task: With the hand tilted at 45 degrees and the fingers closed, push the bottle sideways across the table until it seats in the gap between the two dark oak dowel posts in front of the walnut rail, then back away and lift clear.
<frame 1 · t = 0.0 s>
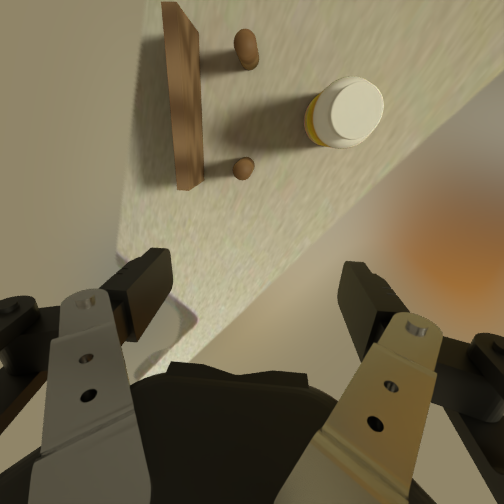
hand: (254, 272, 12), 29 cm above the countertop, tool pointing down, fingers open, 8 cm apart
dowel gate: (247, 116, 35), on the countertop
walnut rail: (196, 114, 35), on the countertop
supplement bottle: (327, 119, 35), on the countertop
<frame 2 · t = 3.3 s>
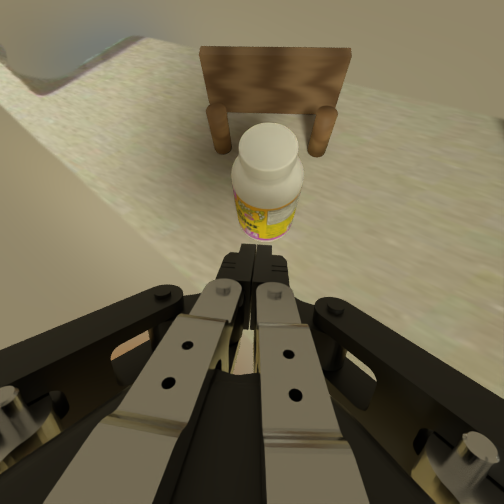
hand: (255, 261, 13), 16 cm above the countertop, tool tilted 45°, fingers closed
dowel gate: (269, 148, 35), on the countertop
walnut rail: (271, 109, 37), on the countertop
supplement bottle: (265, 220, 32), on the countertop
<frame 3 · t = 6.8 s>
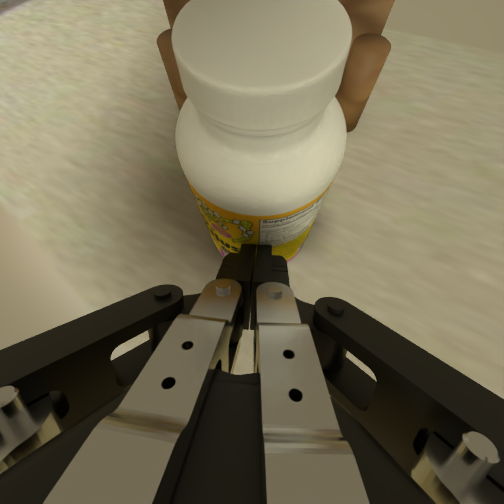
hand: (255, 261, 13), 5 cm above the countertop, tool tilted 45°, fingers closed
dowel gate: (267, 118, 22), on the countertop
walnut rail: (272, 62, 25), on the countertop
supplement bottle: (258, 233, 19), on the countertop, touching gripper
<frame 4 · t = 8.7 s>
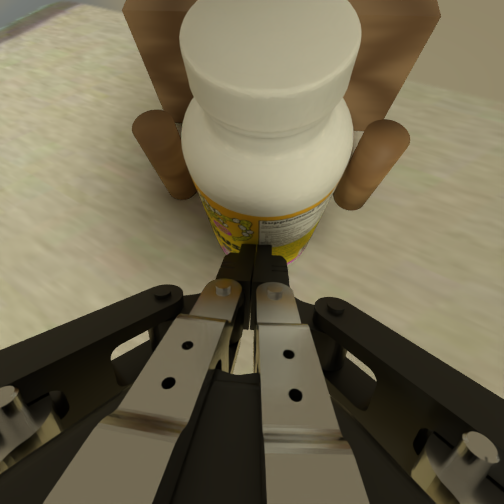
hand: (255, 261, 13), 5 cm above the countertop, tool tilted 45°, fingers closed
dowel gate: (264, 191, 20), on the countertop
walnut rail: (270, 120, 22), on the countertop
supplement bottle: (262, 232, 19), on the countertop, touching gripper
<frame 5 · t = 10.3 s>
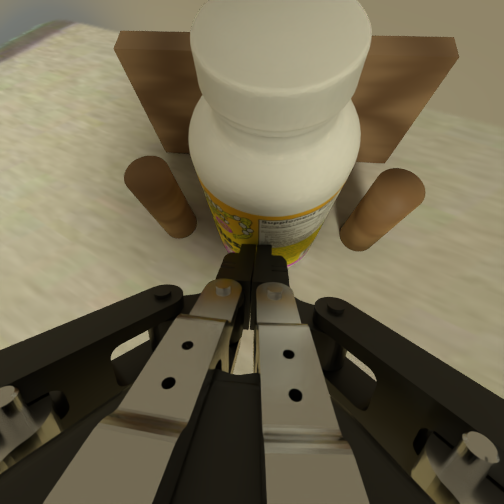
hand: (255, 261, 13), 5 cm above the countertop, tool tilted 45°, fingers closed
dowel gate: (266, 229, 19), on the countertop
walnut rail: (273, 150, 21), on the countertop
supplement bottle: (266, 232, 19), on the countertop, touching gripper
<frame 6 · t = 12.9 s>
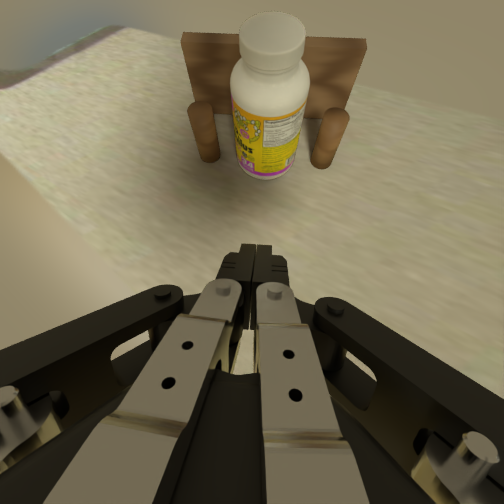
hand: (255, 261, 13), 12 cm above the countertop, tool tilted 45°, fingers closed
dowel gate: (265, 157, 29), on the countertop
walnut rail: (268, 111, 32), on the countertop
supplement bottle: (265, 160, 30), on the countertop
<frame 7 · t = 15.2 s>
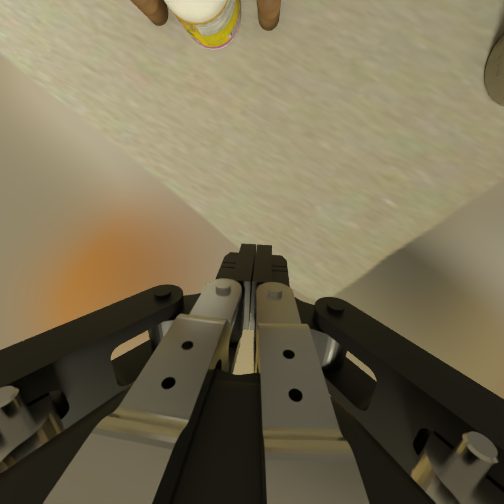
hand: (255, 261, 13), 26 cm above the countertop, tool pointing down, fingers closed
dowel gate: (213, 14, 29), on the countertop
supplement bottle: (213, 17, 30), on the countertop
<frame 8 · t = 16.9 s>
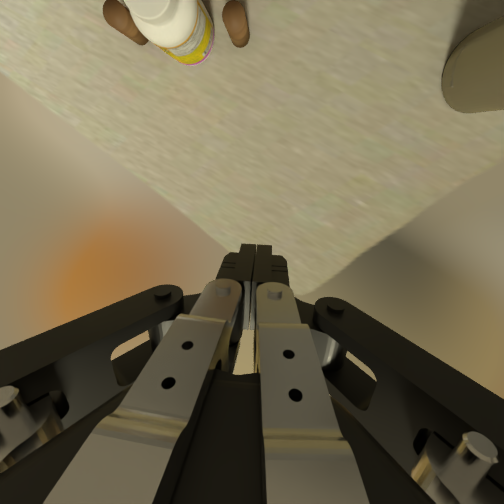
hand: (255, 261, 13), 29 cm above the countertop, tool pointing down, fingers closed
dowel gate: (189, 34, 32), on the countertop
supplement bottle: (190, 36, 32), on the countertop
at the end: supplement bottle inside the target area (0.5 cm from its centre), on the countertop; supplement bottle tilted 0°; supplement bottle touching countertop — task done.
